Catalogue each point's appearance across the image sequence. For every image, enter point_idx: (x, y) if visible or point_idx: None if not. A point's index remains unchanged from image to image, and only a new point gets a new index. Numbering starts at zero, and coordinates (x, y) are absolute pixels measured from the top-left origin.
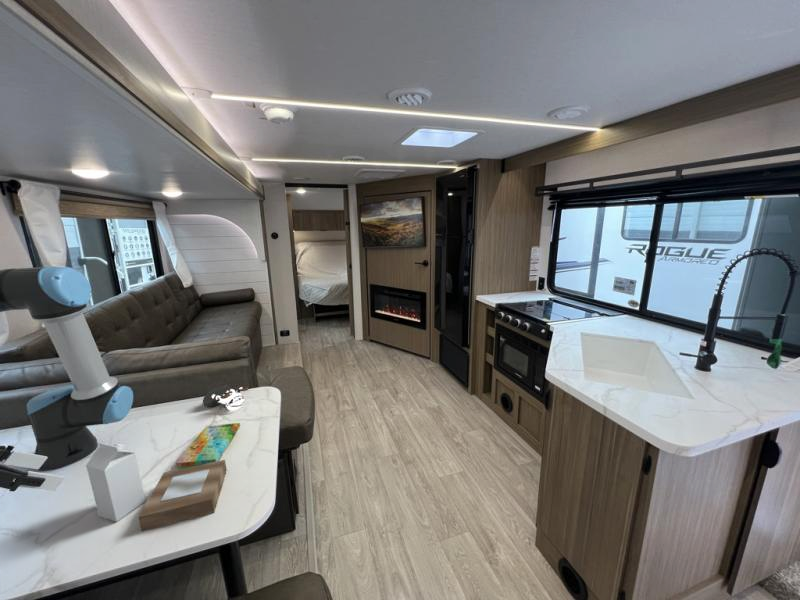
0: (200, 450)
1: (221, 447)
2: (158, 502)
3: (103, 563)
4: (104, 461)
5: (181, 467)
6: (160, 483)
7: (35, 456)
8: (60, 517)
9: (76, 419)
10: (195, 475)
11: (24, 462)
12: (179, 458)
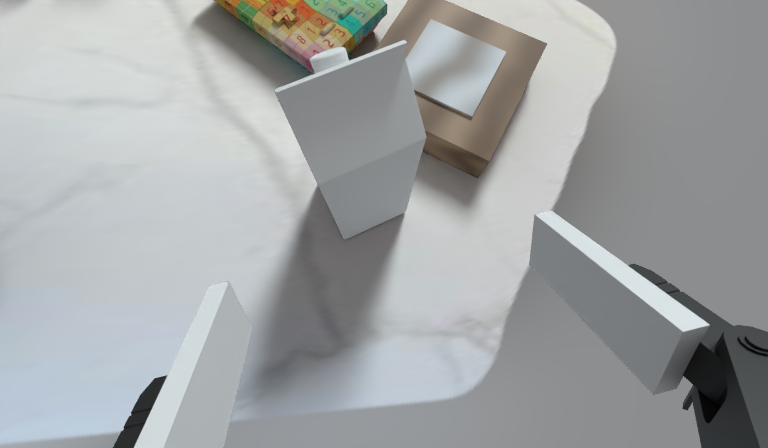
0: (316, 14)
1: None
2: (468, 121)
3: (520, 242)
4: (389, 120)
5: None
6: None
7: (214, 330)
8: (267, 312)
9: None
10: (431, 44)
11: (223, 385)
12: (307, 55)
